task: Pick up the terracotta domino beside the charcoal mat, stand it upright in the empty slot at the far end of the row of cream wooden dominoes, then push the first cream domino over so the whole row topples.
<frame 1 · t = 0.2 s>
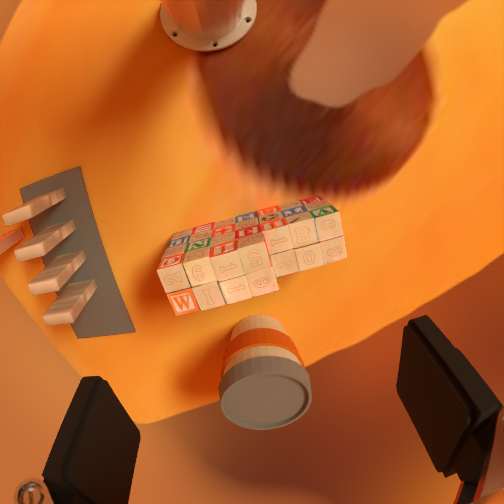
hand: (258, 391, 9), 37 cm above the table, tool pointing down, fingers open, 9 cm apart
cream domino 2: (61, 227, 43), resting on slate mat
slate mat: (75, 262, 46), on the table
terracotta domino: (13, 235, 43), on the table
cream domino 4: (82, 285, 47), resting on slate mat
cream domino 1: (52, 196, 41), resting on slate mat
reusable coffee cup: (258, 336, 53), on the table
cream domino 3: (71, 257, 45), resting on slate mat
stack of blocks: (251, 232, 46), on the table
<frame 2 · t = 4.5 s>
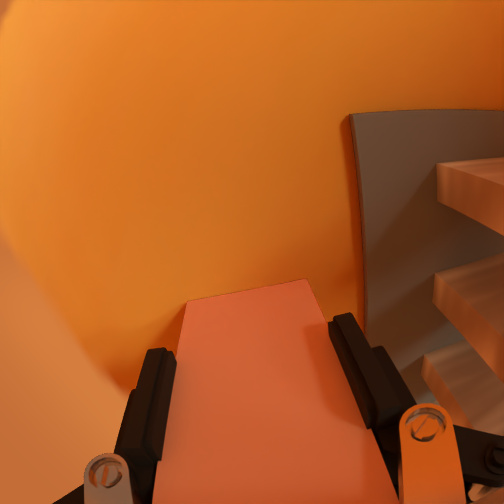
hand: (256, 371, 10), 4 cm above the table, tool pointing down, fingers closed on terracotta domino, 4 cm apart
cream domino 2: (471, 276, 13), resting on slate mat
slate mat: (451, 359, 16), on the table
terracotta domino: (250, 306, 14), on the table, touching gripper
cream domino 1: (478, 176, 11), resting on slate mat
cream domino 3: (457, 351, 15), resting on slate mat
when the fingers open (5 cm above the table, at t = 10.8 s): terracotta domino stays where it is, resting on slate mat.
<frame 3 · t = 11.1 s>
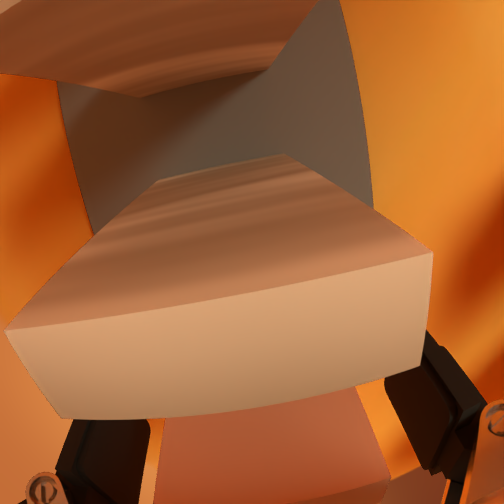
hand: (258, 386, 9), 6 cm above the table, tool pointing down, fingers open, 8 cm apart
slate mat: (204, 87, 11), on the table
terracotta domino: (249, 295, 14), resting on slate mat
cream domino 4: (224, 185, 13), resting on slate mat
cream domino 3: (198, 62, 11), resting on slate mat
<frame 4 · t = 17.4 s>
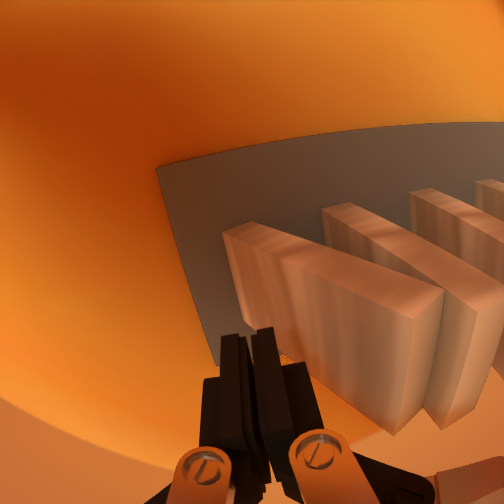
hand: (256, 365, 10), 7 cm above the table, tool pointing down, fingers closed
cream domino 2: (340, 251, 16), point 1 cm above the table, tilted 8°, touching slate mat
slate mat: (430, 227, 17), on the table
cream domino 4: (481, 218, 16), resting on slate mat
cream domino 1: (247, 273, 16), point 1 cm above the table, tilted 28°, touching slate mat
cream domino 3: (420, 233, 16), resting on slate mat
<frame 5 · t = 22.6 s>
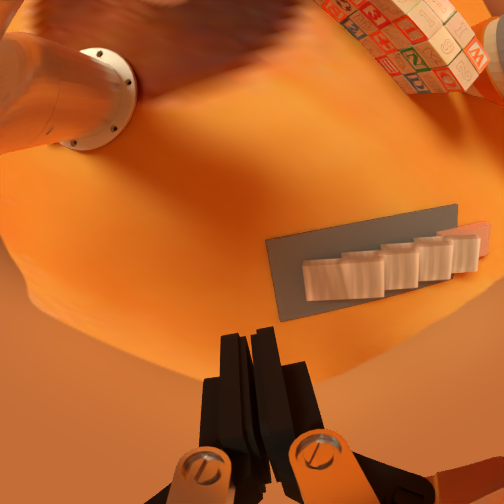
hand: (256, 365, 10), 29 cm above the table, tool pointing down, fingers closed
cream domino 2: (342, 272, 41), point 1 cm above the table, tilted 72°, touching cream domino 1, cream domino 3, slate mat
slate mat: (374, 261, 42), on the table
terracotta domino: (438, 250, 41), point 1 cm above the table, tilted 90°, touching cream domino 4, slate mat
cream domino 4: (413, 257, 41), point 1 cm above the table, tilted 70°, touching cream domino 3, terracotta domino
cream domino 1: (305, 281, 41), point 1 cm above the table, tilted 71°, touching cream domino 2, slate mat
reusable coffee cup: (468, 66, 32), on the table
cream domino 3: (381, 264, 41), point 1 cm above the table, tilted 70°, touching cream domino 2, cream domino 4, slate mat
stack of blocks: (362, 19, 30), on the table
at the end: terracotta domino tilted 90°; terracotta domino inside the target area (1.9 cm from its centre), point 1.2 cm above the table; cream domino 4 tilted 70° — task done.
